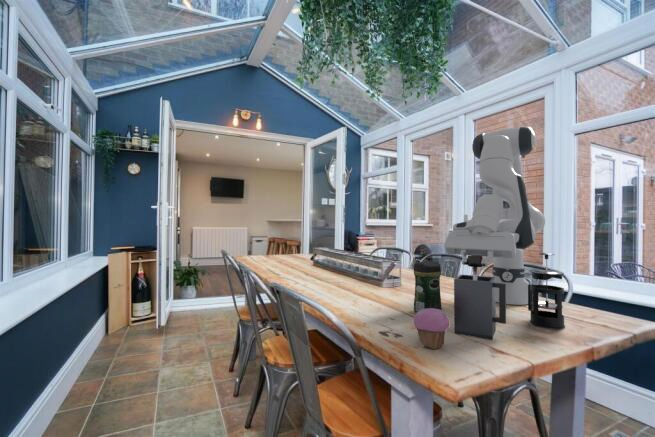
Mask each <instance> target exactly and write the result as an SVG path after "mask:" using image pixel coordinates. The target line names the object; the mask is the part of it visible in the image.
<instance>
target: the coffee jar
mask: <svg viewBox="0 0 655 437" xmlns="http://www.w3.org/2000/svg"><path fill="white" fill-rule="evenodd" d="M413 275H414V280H415V282H414V284H415V286H414V298H413V310H414V312H416V313H417V312H418V311H420V310H421V309H426V308H435V309H440V310H442V308H443V306H442V299H441V298H442V297H441V287H440V286H441V285H440V280H441V275H442V269H441V264H440V262H439V261H432V260H425V261H417V262H414V264H413ZM442 311H443V310H442Z"/></svg>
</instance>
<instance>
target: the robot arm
mask: <svg viewBox="0 0 655 437" xmlns="http://www.w3.org/2000/svg"><path fill="white" fill-rule="evenodd" d="M536 137H537V136H536V134H535V132H534V129H533V128H532V127H531V126H520V127H511V128H502V129H500V130H493V131H490V132H489V131H488V132H486V133H485V132H482V133H480V134H478V135H476V136H475V137H474V138H473V141H472V146H471V147H472V148H471V149H472V152H473V155H474V157H475V158H476V159H479V165H478V171H479V172H478V173H479V174H478V175H479V178H480V180H481V181H482V183H484V185H486V186H487V187H489V188H491V189H492V194H491V193H490V194H489V193H487V194H483V195H481V196H480V197H479V198H478V199H477V202H476V203H475V206H474V207H473V212H472V217H471V219H469V220H465V221H461V222H457V223H454V224H453V225H452V230H451V231H449V233H448V234H447V236H446V239H445V241H444V245H443V248H444V250H445V252H446V254H448V255H459V256H461V263H462V265H463V266H468V256H482V261H481V264H482V266H483V267H488V266H489V263H490V262H492V261H493V266H492V269H491V271H492V276H491V277H496V283H506V305H514V306H515V305H517V306H521V305H528V285H530V282H528V281H527V279H525V277H526V268H525V267H524V256H525V253H524V250H526V249H527V248H530V247H531V246H532V245H533V244H535V240H536V237H537V236H536V234H539V233H540V232H541V231H542V230H543V229H544V227H545V224H546V218H545V215H544V213H543V212H542V211H541V210H540V209H538V208H536V207H535V206H533V204H531V203H530V202H529V198H528V193H527V188H526V185H525V181H524V179H523V178H524V177H523V175H524V173H523V164H522V159H524V158H525V157H526V156H527V155H529V154H530V153H532V151H533V150H534V148H535V145H536V142H537V138H536ZM521 158H522V159H521ZM504 202H506V203H507V204H508V205H509V207H508V208H504ZM484 257H485V258H484ZM496 303H499V288H496Z"/></svg>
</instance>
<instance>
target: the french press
mask: <svg viewBox="0 0 655 437" xmlns="http://www.w3.org/2000/svg"><path fill="white" fill-rule="evenodd" d="M538 255H543V256H544V260H545V269H537V270H536V269H534V270H533V269H532V270H530V273H531V278H532V279H535V280H539V281H540V280H541V281H545V284H530V283H529V285H528V304H527V309H528V311H529V312H530V320H529V323H530V324H531V325H533V326H535V327H539V328H542V329H543V328H544V329H550V330H562V329H563V330H564V329H566V325H565V315H563V307H564V305H563V294H565V288H564V287H561V286H557V285H556V286H555V285H548V280H551V279H559V280H563V275H565V273H564V272H562V271H556V270H550V269H548V260H549V256H555V254H554V253H551V252H539V253H538ZM539 294H544V295H545V301H539ZM549 295H554V302H549V300H548V298H549V297H548V296H549ZM540 309H543V310H540ZM548 310H554V311H548Z"/></svg>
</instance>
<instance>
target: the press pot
mask: <svg viewBox="0 0 655 437" xmlns="http://www.w3.org/2000/svg"><path fill="white" fill-rule="evenodd" d="M496 288H499V302H498V303H499V304H498V306H499V307H498V309H499V310H498V311H499V312H498V315H499V316H496V315H497V314H496V313H497V311H496V307H497V305H496V303H497V302H496ZM453 301H454V302H453V322H454V323H453V327H454V329H453V330H454V331H453V334H454V335H455V334H456V335H460V336H466V337H471V338H478V339H484V340H487V341H488V340H489V341H493V339H494V337H495V334H496V331H497V324H498V323H499V324H503V325H506V324H507V304H506V283H496V277H492V276H482V275H477V280H473V274H472V275H471V274H469V275H468V274H461V273H460V274H459V275H458V276H456V277H455V278H453ZM496 323H497V324H496Z"/></svg>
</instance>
